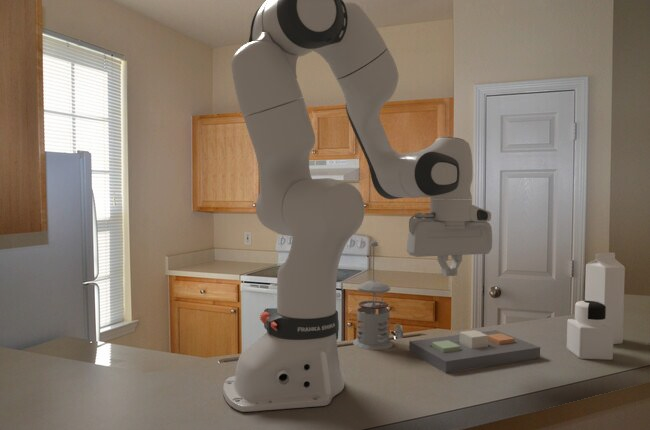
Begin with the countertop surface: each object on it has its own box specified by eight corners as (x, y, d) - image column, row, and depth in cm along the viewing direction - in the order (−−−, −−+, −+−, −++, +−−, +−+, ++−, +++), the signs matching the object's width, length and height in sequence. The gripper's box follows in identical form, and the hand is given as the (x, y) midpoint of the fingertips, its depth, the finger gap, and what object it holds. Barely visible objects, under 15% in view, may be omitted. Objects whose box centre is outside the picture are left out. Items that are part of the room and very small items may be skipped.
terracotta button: (498, 352, 107) (499, 340, 106) (485, 346, 111) (485, 335, 111) (514, 349, 108) (514, 338, 108) (500, 344, 112) (500, 333, 112)
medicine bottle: (597, 349, 111) (599, 299, 110) (613, 360, 104) (615, 306, 103) (566, 348, 111) (567, 298, 111) (579, 359, 104) (580, 305, 104)
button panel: (445, 373, 96) (445, 361, 96) (409, 351, 109) (409, 341, 109) (539, 357, 105) (540, 347, 105) (495, 339, 118) (496, 330, 118)
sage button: (443, 360, 101) (443, 348, 101) (431, 353, 105) (431, 342, 105) (460, 357, 103) (460, 346, 103) (447, 351, 107) (448, 340, 107)
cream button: (471, 349, 104) (472, 337, 104) (459, 343, 108) (459, 332, 108) (488, 346, 105) (488, 335, 105) (475, 341, 110) (475, 330, 109)
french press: (348, 347, 112) (348, 242, 110) (360, 333, 123) (361, 237, 121) (389, 352, 108) (390, 243, 107) (398, 337, 119) (399, 239, 118)
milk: (622, 343, 115) (626, 254, 114) (602, 345, 114) (606, 254, 113) (601, 336, 121) (605, 250, 120) (582, 338, 119) (586, 251, 118)
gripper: (417, 213, 96) (416, 280, 97) (497, 213, 104) (496, 275, 104) (401, 212, 102) (400, 275, 103) (478, 212, 110) (477, 271, 110)
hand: (449, 275), depth 104 cm, fingers closed
